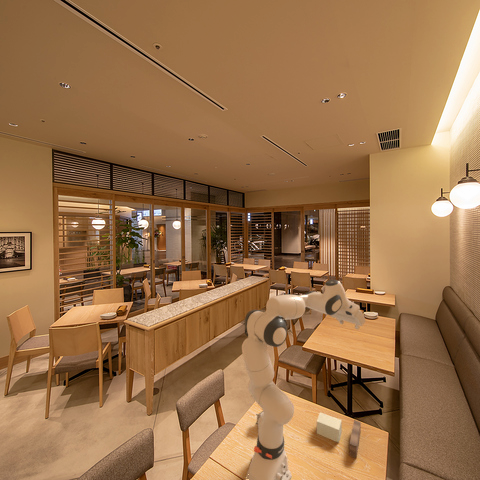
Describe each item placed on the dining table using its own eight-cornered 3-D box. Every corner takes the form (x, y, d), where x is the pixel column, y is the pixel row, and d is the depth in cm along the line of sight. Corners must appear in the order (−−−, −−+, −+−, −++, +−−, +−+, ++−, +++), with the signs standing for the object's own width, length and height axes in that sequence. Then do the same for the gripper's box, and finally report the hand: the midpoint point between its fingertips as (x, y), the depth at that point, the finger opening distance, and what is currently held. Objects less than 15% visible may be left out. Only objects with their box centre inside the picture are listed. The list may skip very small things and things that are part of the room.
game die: (262, 430, 136) (262, 408, 142) (274, 432, 131) (274, 409, 137) (251, 430, 131) (252, 407, 137) (264, 432, 126) (264, 409, 131)
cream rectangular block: (339, 443, 123) (339, 429, 122) (316, 433, 129) (316, 421, 128) (341, 432, 129) (341, 420, 128) (320, 424, 135) (320, 412, 134)
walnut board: (356, 458, 115) (356, 446, 114) (349, 455, 116) (349, 443, 116) (360, 432, 128) (360, 422, 128) (354, 430, 130) (354, 419, 129)
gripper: (322, 305, 139) (330, 324, 143) (356, 314, 122) (364, 335, 126) (328, 298, 142) (336, 317, 146) (362, 306, 125) (370, 327, 129)
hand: (349, 325), depth 136 cm, fingers open, 8 cm apart
